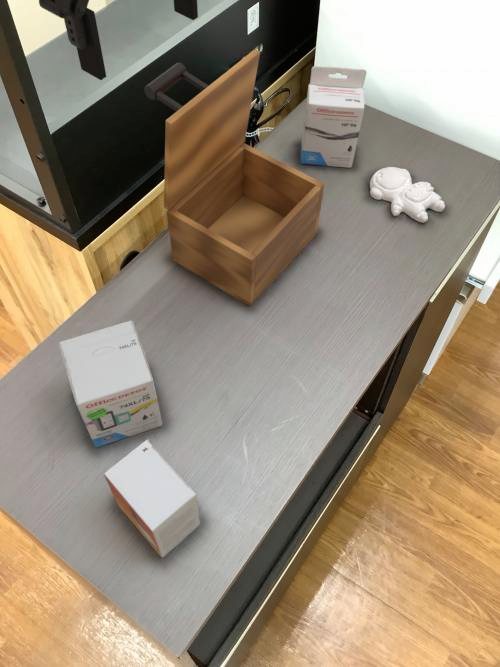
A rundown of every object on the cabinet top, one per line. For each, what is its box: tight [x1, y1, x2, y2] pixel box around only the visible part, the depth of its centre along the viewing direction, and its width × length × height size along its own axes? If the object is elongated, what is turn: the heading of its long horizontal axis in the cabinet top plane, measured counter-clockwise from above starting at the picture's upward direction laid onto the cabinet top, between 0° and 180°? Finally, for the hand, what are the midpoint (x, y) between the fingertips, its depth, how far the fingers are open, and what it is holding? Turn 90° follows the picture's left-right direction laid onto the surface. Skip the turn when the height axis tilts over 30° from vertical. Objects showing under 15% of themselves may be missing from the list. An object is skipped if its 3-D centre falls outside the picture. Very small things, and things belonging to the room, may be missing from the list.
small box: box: [103, 439, 201, 558], centre depth 65 cm, size 8×6×10 cm
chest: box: [166, 142, 326, 308], centre depth 87 cm, size 14×17×10 cm
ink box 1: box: [58, 320, 163, 449], centre depth 72 cm, size 8×8×12 cm
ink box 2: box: [300, 65, 367, 169], centre depth 96 cm, size 8×5×15 cm, turn 86°
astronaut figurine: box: [369, 166, 446, 224], centre depth 96 cm, size 9×12×3 cm
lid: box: [144, 48, 261, 211], centre depth 79 cm, size 15×17×9 cm
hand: (142, 42), depth 64 cm, fingers open, 13 cm apart
